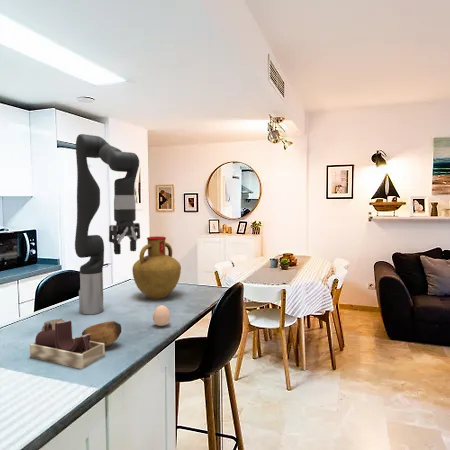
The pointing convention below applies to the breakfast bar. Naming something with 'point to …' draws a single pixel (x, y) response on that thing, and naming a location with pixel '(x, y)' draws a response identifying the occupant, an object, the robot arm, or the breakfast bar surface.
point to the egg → (161, 315)
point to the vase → (156, 269)
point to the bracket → (62, 338)
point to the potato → (104, 332)
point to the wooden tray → (68, 355)
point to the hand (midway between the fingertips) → (125, 252)
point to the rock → (52, 323)
